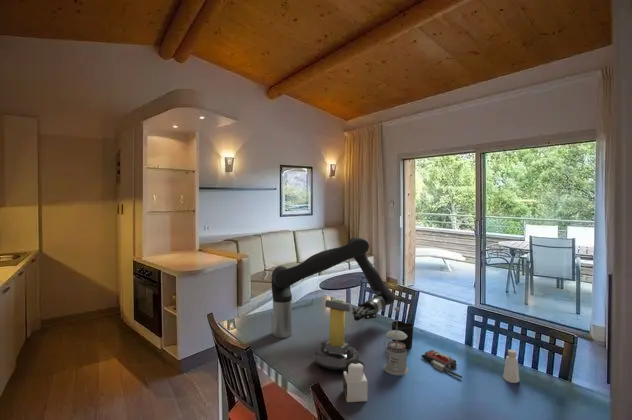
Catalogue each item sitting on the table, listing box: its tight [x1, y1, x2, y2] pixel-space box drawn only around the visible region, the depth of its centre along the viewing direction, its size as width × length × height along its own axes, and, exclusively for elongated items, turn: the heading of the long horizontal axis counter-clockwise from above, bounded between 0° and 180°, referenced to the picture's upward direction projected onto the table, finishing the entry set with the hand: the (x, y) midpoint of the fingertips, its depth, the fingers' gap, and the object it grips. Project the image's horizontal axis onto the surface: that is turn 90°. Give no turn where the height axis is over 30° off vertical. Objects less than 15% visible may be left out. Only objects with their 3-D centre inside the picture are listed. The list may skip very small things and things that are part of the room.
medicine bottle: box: [342, 359, 368, 403], centre depth 122 cm, size 7×7×12 cm
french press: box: [383, 306, 410, 376], centre depth 141 cm, size 10×12×25 cm
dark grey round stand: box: [314, 339, 360, 375], centre depth 144 cm, size 18×18×8 cm
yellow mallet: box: [324, 298, 351, 355], centre depth 144 cm, size 10×6×22 cm, turn 58°
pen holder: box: [391, 320, 414, 351], centre depth 161 cm, size 9×9×10 cm
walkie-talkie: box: [421, 349, 463, 379], centre depth 143 cm, size 9×4×20 cm
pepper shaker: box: [502, 349, 520, 384], centre depth 133 cm, size 5×5×11 cm
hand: (355, 318), depth 158 cm, fingers closed
